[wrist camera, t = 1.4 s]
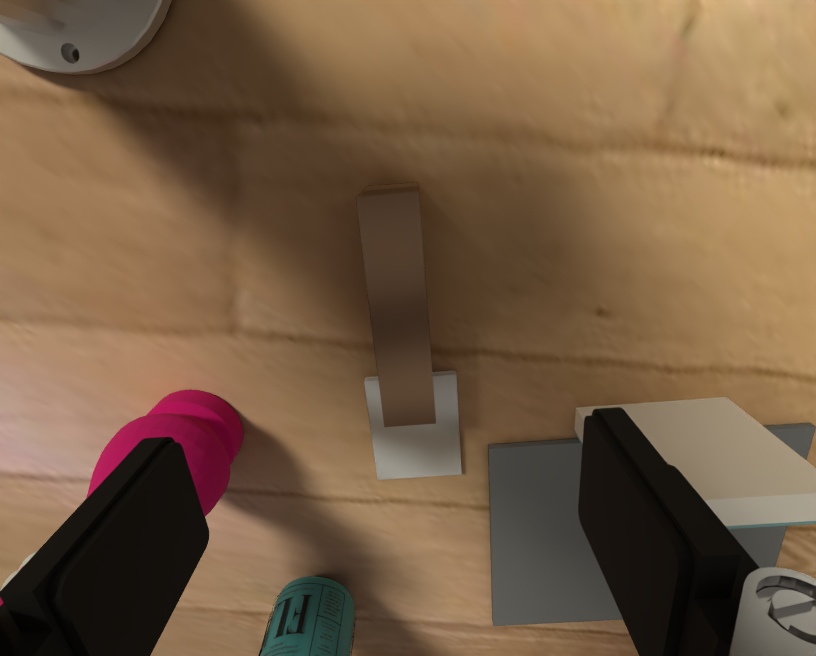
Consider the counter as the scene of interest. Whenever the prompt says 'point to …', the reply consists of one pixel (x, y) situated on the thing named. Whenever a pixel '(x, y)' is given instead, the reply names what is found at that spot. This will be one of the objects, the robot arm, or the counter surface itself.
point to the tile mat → (569, 533)
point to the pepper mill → (191, 427)
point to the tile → (727, 460)
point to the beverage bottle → (311, 620)
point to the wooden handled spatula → (404, 343)
